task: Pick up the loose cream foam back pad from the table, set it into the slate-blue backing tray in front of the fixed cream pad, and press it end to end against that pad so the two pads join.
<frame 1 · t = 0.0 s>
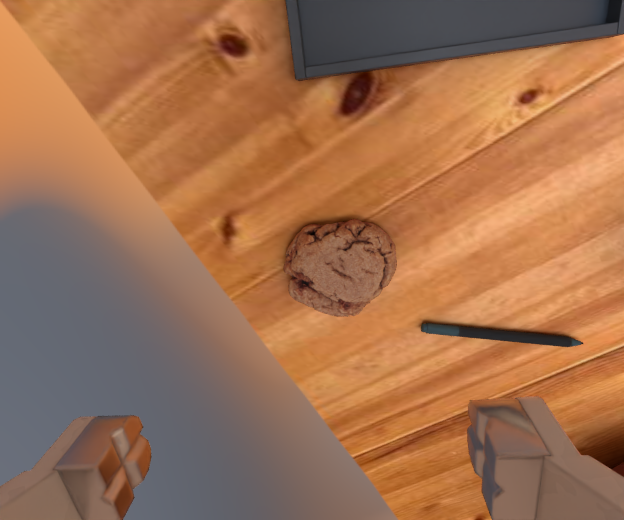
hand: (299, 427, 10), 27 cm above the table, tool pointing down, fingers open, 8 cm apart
pen: (497, 332, 39), on the table
cookie: (339, 261, 38), on the table
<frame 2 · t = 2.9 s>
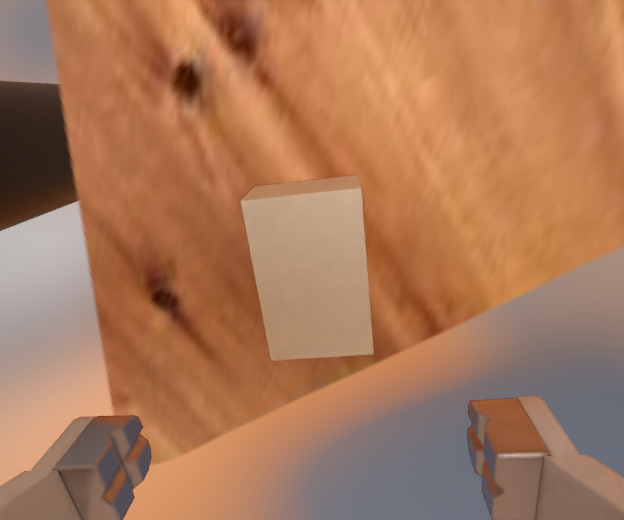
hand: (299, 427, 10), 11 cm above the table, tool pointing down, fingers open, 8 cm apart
loose pad: (315, 257, 20), on the table
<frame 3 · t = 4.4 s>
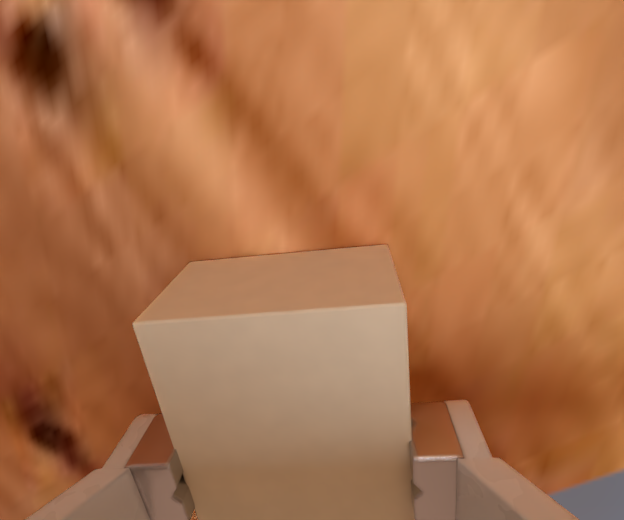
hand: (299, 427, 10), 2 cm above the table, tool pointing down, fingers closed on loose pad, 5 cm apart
loose pad: (306, 383, 11), on the table, touching gripper
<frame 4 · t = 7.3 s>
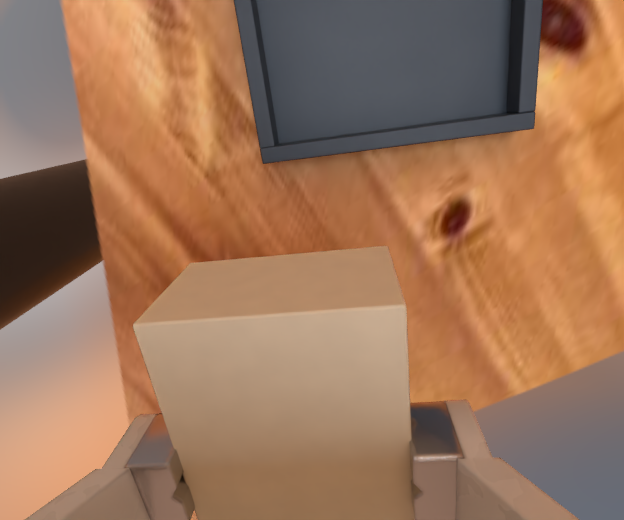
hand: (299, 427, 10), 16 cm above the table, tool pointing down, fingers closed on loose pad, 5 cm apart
loose pad: (306, 384, 11), point 14 cm above the table, touching gripper
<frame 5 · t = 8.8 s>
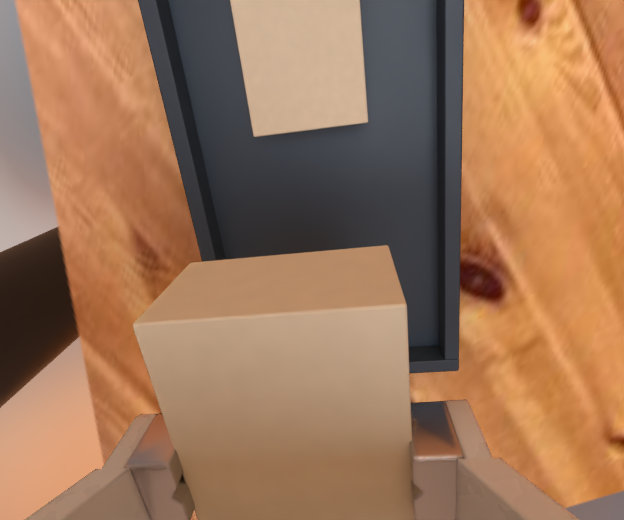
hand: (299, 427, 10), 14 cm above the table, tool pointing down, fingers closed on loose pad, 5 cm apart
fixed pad: (303, 35, 18), resting on backing tray
loose pad: (306, 383, 11), point 12 cm above the table, touching gripper
backing tray: (320, 174, 21), on the table
when the fingers open (2 cm above the table, at t = 11.8 s): loose pad stays where it is, point 1 cm above the table.
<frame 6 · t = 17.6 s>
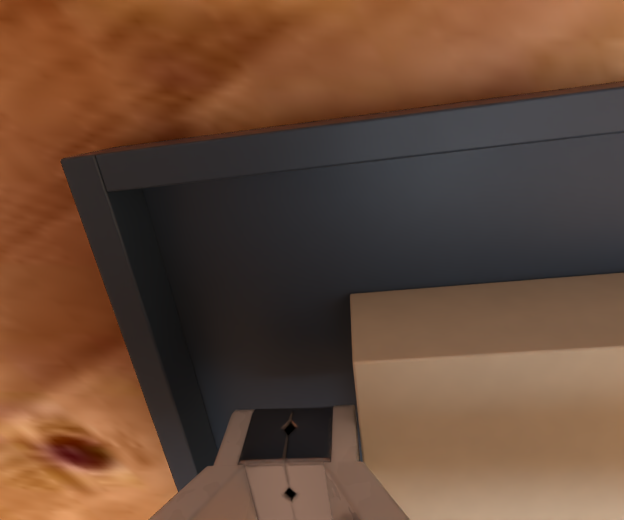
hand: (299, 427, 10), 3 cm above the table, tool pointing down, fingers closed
loose pad: (501, 361, 11), point 1 cm above the table
backing tray: (571, 341, 11), on the table
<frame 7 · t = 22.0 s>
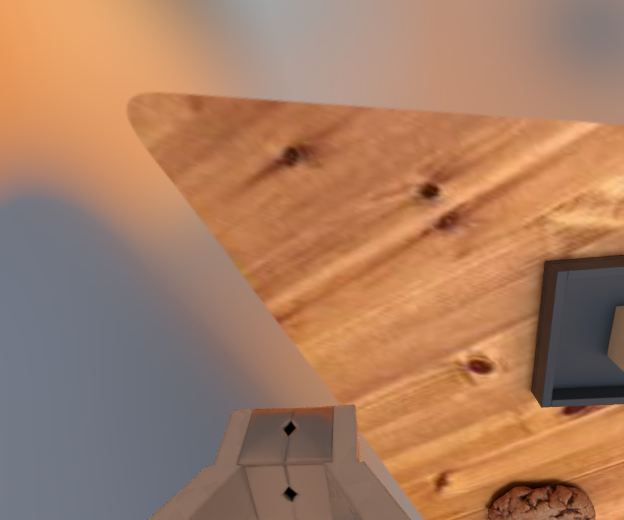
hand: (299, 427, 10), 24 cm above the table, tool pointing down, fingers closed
cookie: (535, 506, 44), on the table
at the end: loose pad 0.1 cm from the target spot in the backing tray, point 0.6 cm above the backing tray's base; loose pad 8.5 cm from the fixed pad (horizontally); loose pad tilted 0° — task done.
